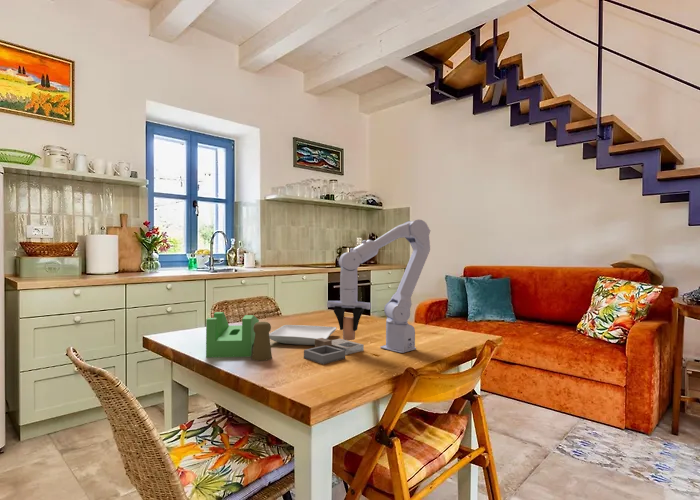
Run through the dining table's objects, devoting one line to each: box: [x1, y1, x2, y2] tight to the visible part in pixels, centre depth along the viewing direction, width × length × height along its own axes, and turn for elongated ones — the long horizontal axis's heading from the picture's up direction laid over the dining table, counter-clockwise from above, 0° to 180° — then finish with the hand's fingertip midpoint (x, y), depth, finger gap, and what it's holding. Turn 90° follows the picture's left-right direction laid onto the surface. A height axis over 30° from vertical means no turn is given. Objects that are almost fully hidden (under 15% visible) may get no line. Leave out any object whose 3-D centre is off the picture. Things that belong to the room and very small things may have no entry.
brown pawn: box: [251, 321, 273, 362], centre depth 122 cm, size 6×6×11 cm
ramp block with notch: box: [205, 311, 260, 358], centre depth 135 cm, size 24×13×12 cm, turn 7°
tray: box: [303, 345, 346, 365], centre depth 123 cm, size 9×9×2 cm
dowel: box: [342, 316, 356, 341], centre depth 132 cm, size 4×4×7 cm
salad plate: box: [269, 324, 337, 346], centre depth 147 cm, size 21×21×3 cm
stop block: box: [314, 338, 333, 348], centre depth 132 cm, size 5×3×4 cm, turn 44°
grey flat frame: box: [331, 338, 365, 356], centre depth 134 cm, size 12×8×2 cm
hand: (348, 329), depth 132 cm, fingers closed on dowel, 4 cm apart
